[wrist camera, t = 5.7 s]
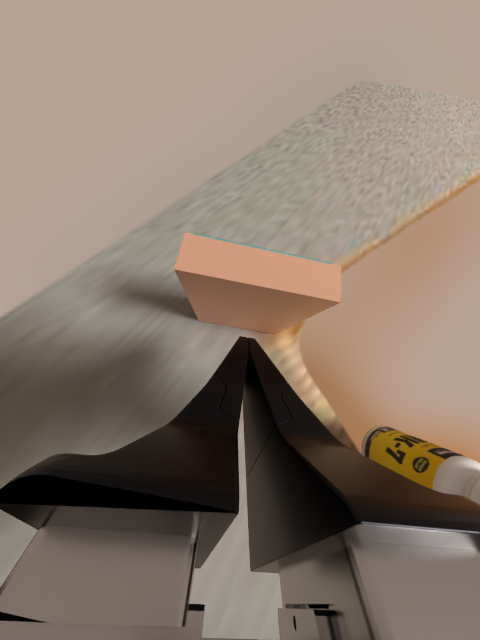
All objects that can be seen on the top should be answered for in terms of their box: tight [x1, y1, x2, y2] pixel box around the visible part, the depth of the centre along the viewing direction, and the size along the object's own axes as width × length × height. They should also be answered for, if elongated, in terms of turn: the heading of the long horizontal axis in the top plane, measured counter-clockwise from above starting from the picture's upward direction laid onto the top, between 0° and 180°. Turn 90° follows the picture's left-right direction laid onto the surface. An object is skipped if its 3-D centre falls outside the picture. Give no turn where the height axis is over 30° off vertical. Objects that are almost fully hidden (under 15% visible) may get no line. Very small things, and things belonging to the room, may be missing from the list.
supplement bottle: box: [362, 426, 480, 504], centre depth 12 cm, size 5×5×8 cm
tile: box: [174, 233, 341, 334], centre depth 13 cm, size 2×8×10 cm, turn 81°
